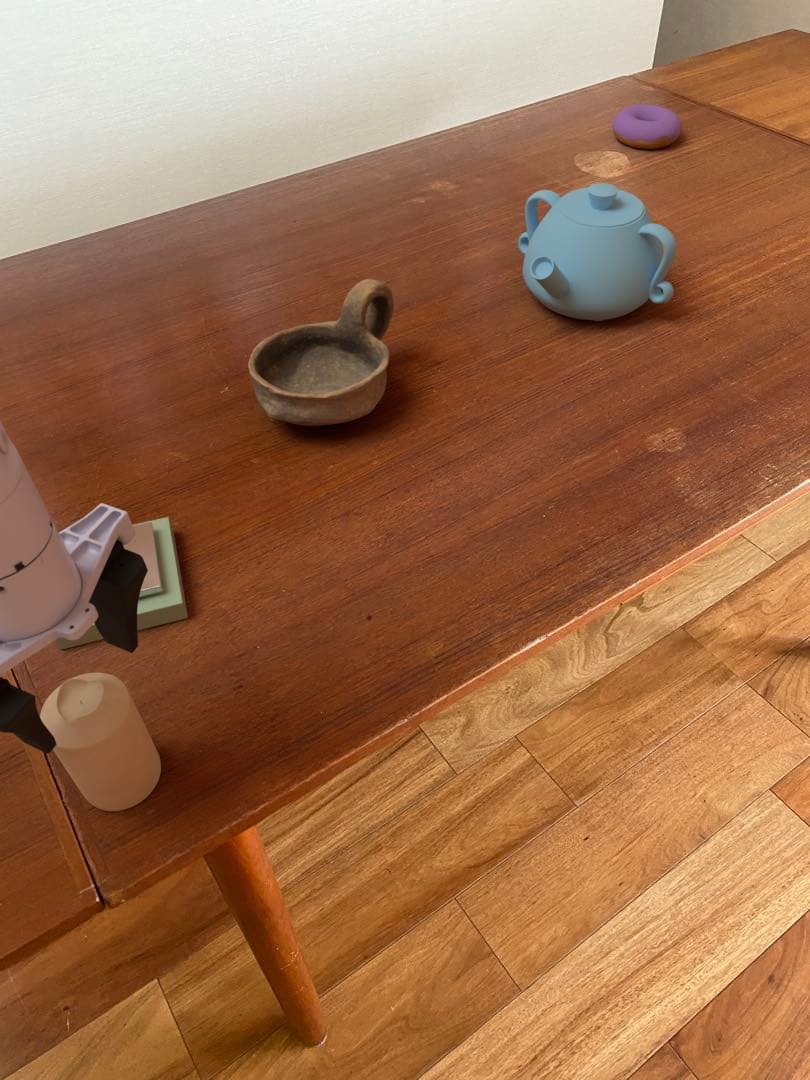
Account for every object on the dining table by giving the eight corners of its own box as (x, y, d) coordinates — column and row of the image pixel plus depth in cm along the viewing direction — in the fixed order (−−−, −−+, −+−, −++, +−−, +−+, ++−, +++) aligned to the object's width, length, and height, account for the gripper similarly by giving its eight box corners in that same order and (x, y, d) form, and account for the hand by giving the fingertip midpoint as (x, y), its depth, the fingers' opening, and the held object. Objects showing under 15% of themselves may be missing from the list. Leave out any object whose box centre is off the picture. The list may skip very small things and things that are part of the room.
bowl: (226, 413, 87) (206, 328, 79) (345, 334, 96) (337, 251, 88) (324, 471, 81) (312, 384, 73) (442, 381, 89) (442, 295, 82)
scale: (60, 650, 67) (50, 633, 66) (56, 559, 74) (48, 542, 72) (188, 618, 69) (182, 601, 68) (173, 532, 76) (167, 514, 74)
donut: (597, 139, 127) (605, 103, 124) (626, 132, 133) (635, 97, 130) (658, 156, 122) (668, 119, 119) (686, 148, 128) (696, 112, 125)
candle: (68, 771, 60) (16, 692, 53) (138, 725, 63) (98, 644, 55) (104, 828, 57) (54, 753, 50) (176, 778, 60) (139, 700, 52)
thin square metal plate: (67, 615, 67) (64, 609, 66) (63, 547, 72) (61, 542, 71) (163, 591, 68) (161, 586, 68) (153, 527, 73) (151, 521, 72)
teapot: (698, 293, 99) (725, 185, 90) (608, 378, 89) (628, 266, 79) (552, 242, 108) (562, 139, 98) (455, 314, 98) (456, 207, 88)
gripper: (-60, 683, 37) (52, 821, 47) (149, 469, 45) (205, 624, 55) (-172, 629, 39) (-43, 772, 49) (47, 435, 48) (119, 590, 58)
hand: (83, 691), depth 52 cm, fingers open, 7 cm apart
